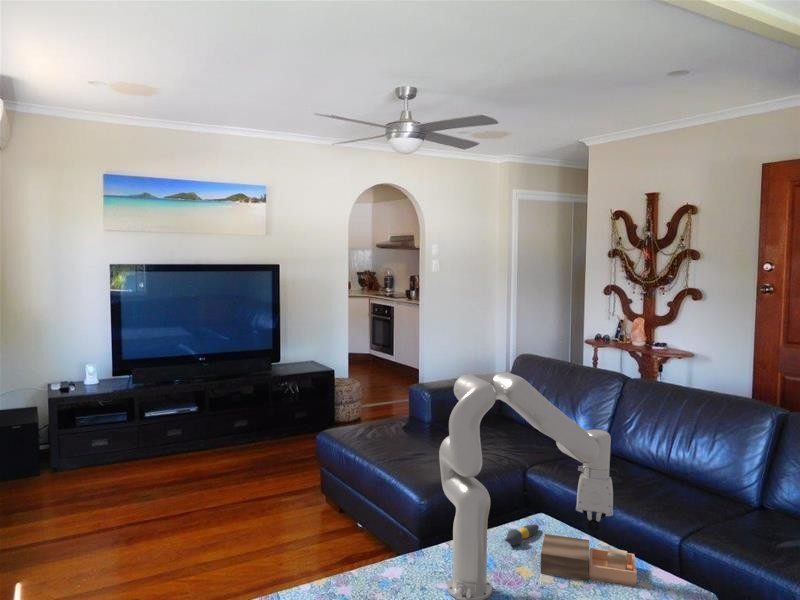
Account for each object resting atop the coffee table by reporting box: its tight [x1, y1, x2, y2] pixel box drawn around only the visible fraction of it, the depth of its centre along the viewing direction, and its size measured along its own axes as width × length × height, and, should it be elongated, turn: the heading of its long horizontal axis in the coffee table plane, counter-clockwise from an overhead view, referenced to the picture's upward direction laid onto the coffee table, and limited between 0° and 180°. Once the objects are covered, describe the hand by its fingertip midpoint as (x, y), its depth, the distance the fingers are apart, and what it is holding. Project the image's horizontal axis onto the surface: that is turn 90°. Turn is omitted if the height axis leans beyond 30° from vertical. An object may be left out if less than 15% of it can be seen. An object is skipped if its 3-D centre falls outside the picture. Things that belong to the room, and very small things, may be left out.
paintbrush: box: [503, 524, 540, 546], centre depth 202 cm, size 20×5×5 cm, turn 142°
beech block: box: [607, 547, 628, 570], centre depth 180 cm, size 5×5×5 cm
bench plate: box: [540, 533, 590, 581], centre depth 184 cm, size 14×14×6 cm
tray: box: [588, 547, 638, 587], centre depth 180 cm, size 12×13×4 cm
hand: (593, 532), depth 181 cm, fingers closed
